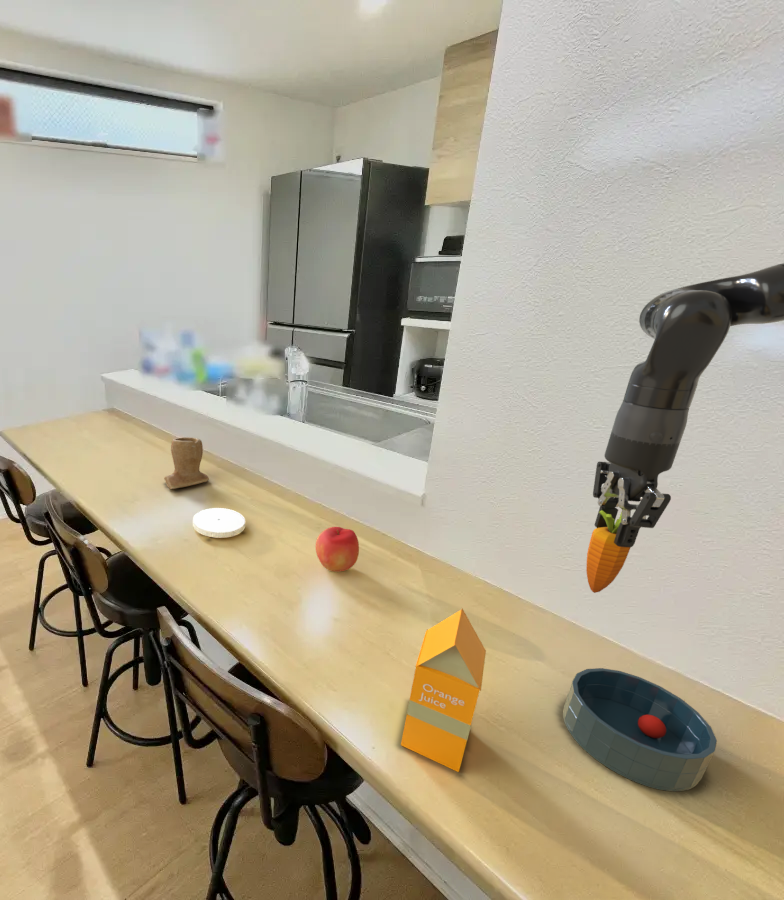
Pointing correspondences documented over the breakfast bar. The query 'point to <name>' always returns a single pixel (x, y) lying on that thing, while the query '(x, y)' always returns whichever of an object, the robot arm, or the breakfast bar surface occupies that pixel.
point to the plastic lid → (218, 522)
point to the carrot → (604, 555)
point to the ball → (652, 726)
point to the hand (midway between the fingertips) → (612, 536)
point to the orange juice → (445, 691)
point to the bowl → (638, 729)
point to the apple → (337, 548)
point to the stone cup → (186, 463)
